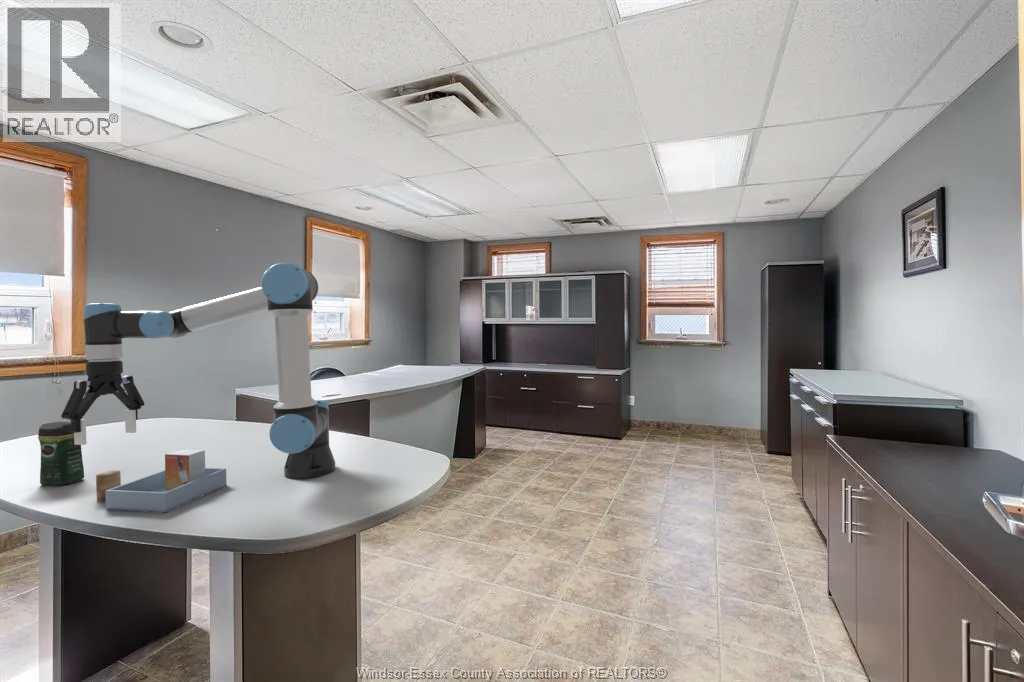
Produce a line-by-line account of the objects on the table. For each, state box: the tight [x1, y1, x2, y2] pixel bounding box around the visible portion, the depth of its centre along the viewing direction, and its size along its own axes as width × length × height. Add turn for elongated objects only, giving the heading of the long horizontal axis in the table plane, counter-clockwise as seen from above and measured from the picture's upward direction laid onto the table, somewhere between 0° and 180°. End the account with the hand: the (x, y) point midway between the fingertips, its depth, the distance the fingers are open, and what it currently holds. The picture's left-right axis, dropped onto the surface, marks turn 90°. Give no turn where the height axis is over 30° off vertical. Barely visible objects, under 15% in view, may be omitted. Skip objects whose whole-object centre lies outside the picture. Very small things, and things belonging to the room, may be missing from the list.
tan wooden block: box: [95, 469, 122, 502], centre depth 124 cm, size 5×5×7 cm
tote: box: [105, 467, 228, 513], centre depth 125 cm, size 17×20×5 cm
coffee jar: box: [37, 421, 85, 487], centre depth 137 cm, size 10×8×19 cm
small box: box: [164, 448, 206, 490], centre depth 130 cm, size 8×6×10 cm
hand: (107, 438), depth 124 cm, fingers open, 13 cm apart
